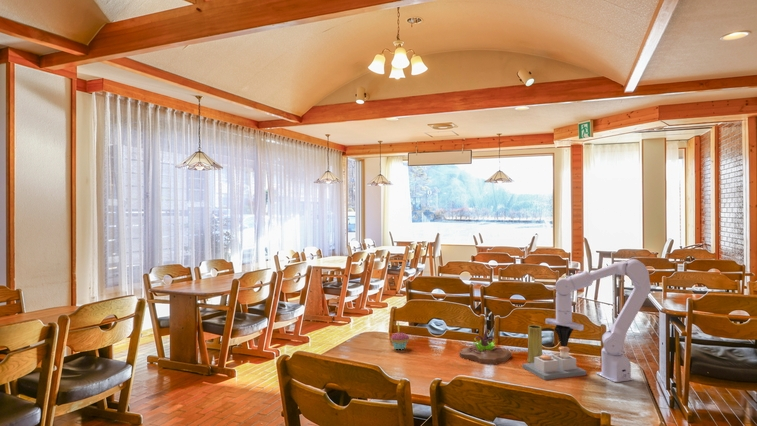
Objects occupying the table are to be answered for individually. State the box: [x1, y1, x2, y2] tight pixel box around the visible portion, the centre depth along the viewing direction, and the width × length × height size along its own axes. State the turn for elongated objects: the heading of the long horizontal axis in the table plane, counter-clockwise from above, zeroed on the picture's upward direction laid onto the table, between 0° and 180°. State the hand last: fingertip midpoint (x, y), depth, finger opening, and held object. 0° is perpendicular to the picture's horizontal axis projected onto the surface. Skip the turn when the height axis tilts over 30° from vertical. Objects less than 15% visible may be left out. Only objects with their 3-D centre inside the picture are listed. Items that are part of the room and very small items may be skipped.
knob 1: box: [541, 354, 552, 361], centre depth 173 cm, size 4×4×5 cm
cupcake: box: [390, 322, 410, 350], centre depth 206 cm, size 9×8×12 cm
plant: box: [458, 329, 512, 365], centre depth 195 cm, size 20×20×11 cm
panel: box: [521, 354, 587, 381], centre depth 175 cm, size 14×18×5 cm
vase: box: [526, 324, 543, 363], centre depth 186 cm, size 6×6×14 cm
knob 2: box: [558, 346, 570, 359], centre depth 175 cm, size 4×4×5 cm
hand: (564, 345), depth 175 cm, fingers closed
